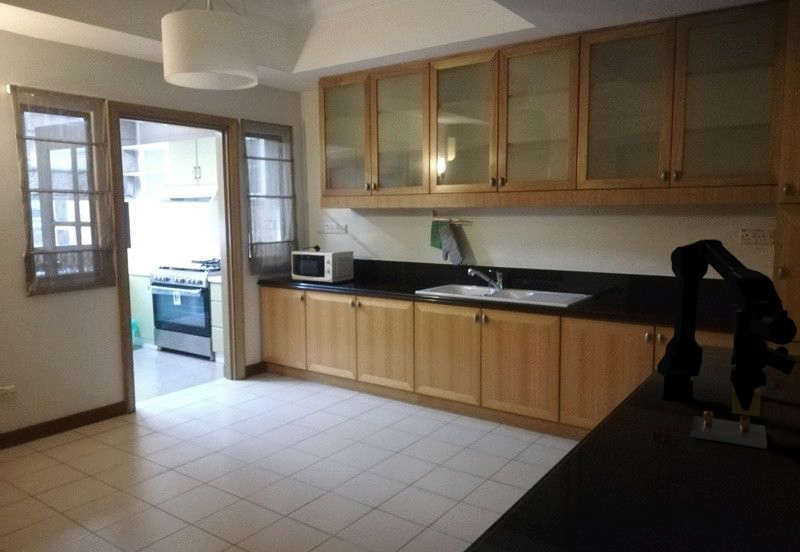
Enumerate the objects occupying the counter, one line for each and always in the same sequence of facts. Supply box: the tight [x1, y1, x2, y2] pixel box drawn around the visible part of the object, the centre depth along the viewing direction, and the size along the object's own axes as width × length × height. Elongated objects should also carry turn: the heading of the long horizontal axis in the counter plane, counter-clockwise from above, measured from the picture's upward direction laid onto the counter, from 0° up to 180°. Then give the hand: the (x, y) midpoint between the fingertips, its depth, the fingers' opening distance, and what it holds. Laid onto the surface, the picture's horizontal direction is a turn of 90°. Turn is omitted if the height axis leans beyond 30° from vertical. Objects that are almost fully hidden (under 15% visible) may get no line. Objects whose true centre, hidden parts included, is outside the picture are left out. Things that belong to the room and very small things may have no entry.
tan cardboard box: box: [731, 385, 762, 417], centre depth 130 cm, size 5×5×5 cm
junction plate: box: [690, 410, 768, 450], centre depth 132 cm, size 14×11×4 cm
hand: (745, 406), depth 130 cm, fingers closed on tan cardboard box, 5 cm apart
